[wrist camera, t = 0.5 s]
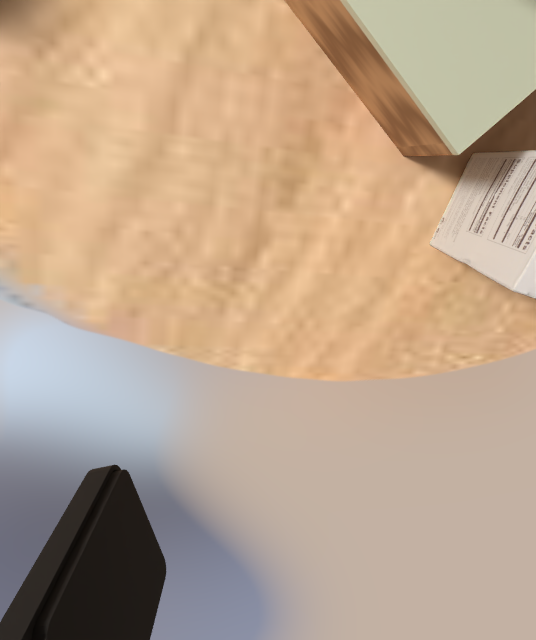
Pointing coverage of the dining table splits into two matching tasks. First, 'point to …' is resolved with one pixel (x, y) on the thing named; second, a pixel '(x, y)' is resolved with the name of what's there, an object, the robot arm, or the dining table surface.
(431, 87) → the lid
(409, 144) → the brown wooden box
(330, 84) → the dining table surface
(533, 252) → the supplement box
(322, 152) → the dining table surface
